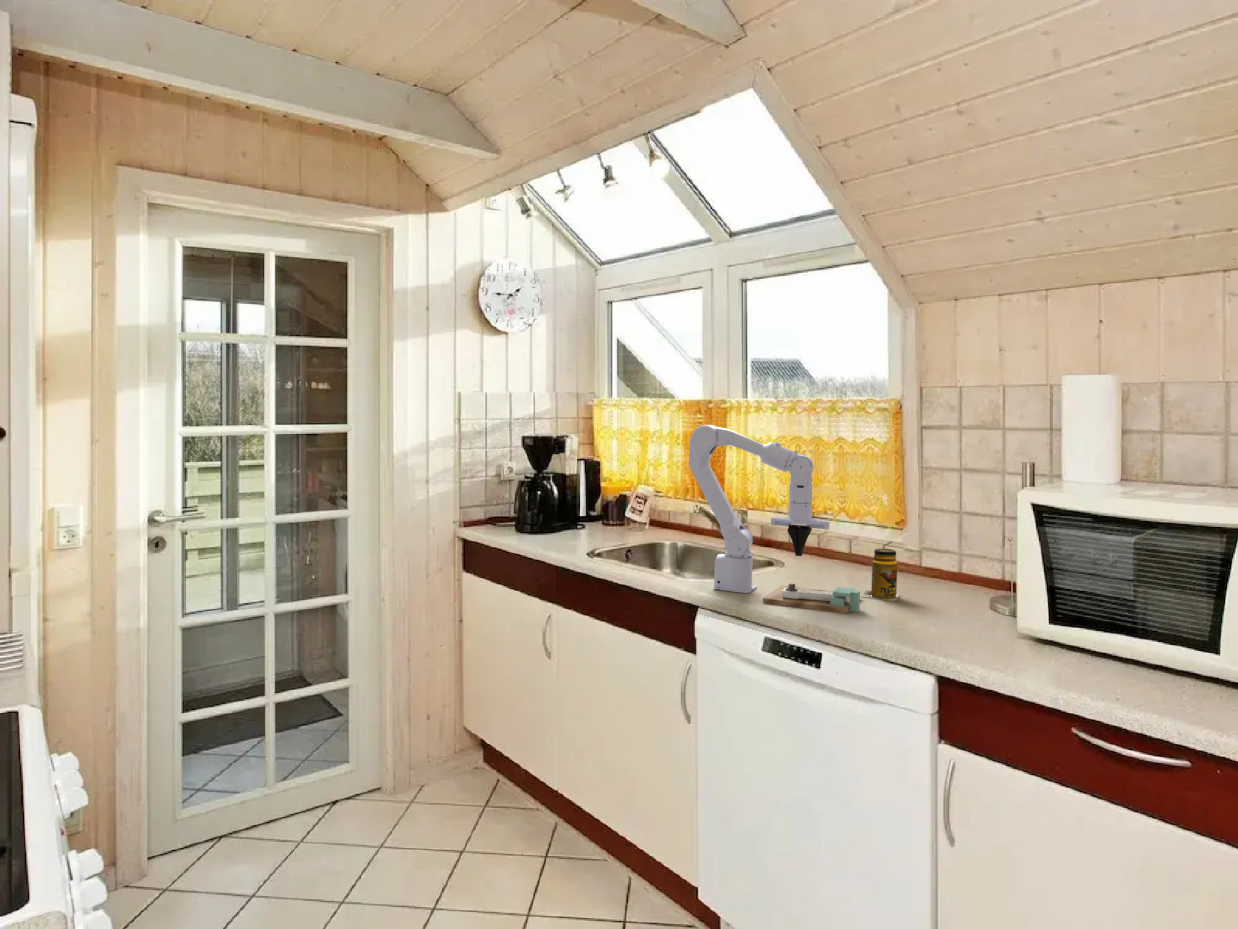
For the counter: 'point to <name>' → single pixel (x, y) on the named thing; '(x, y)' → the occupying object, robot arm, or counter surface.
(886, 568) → the condiment
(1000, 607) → the counter surface
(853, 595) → the keeper
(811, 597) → the link
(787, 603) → the board
